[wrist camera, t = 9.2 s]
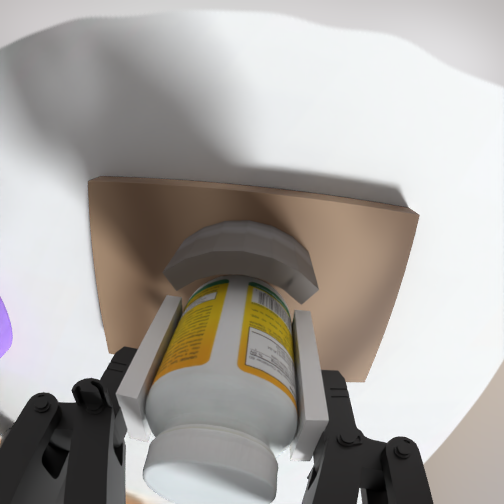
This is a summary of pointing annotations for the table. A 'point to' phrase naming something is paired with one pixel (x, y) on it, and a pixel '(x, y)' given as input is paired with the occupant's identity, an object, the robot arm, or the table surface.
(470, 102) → the table surface
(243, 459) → the supplement bottle
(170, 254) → the collar board
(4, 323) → the masking tape
